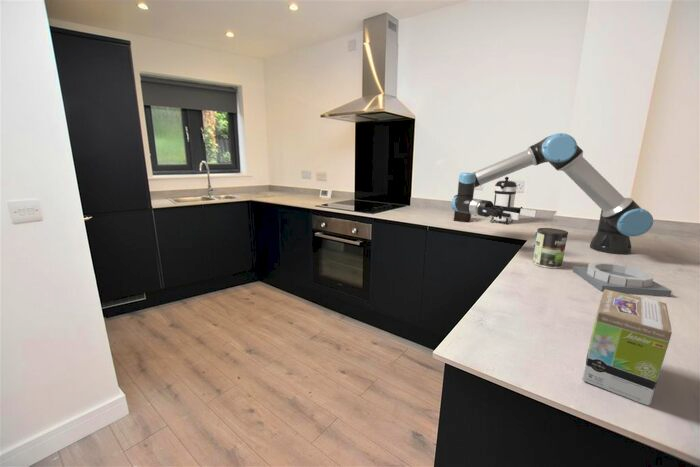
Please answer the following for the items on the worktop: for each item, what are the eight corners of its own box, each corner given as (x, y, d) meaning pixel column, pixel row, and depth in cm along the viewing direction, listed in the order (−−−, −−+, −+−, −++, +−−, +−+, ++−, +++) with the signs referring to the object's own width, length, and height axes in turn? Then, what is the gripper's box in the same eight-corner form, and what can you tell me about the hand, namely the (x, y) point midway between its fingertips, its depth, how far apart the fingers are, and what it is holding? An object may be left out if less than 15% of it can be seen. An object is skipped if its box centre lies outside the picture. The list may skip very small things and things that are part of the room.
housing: (629, 275, 116) (632, 263, 115) (670, 296, 98) (673, 283, 97) (572, 271, 120) (574, 259, 118) (601, 291, 101) (603, 278, 100)
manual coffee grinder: (454, 218, 222) (456, 192, 218) (471, 219, 217) (474, 193, 213) (451, 222, 209) (453, 195, 204) (468, 224, 204) (471, 196, 199)
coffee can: (568, 266, 124) (574, 232, 121) (550, 270, 120) (556, 234, 117) (543, 259, 134) (548, 226, 130) (526, 262, 130) (531, 228, 126)
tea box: (652, 409, 54) (674, 331, 50) (580, 381, 60) (595, 311, 57) (649, 366, 65) (667, 300, 61) (589, 347, 71) (602, 286, 68)
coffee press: (519, 224, 202) (526, 177, 195) (494, 224, 203) (500, 177, 196) (507, 219, 219) (512, 175, 212) (484, 219, 219) (489, 175, 212)
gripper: (496, 213, 155) (540, 221, 138) (464, 218, 142) (509, 227, 125) (498, 198, 154) (543, 204, 137) (465, 201, 140) (512, 208, 123)
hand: (527, 215), depth 131 cm, fingers open, 13 cm apart
